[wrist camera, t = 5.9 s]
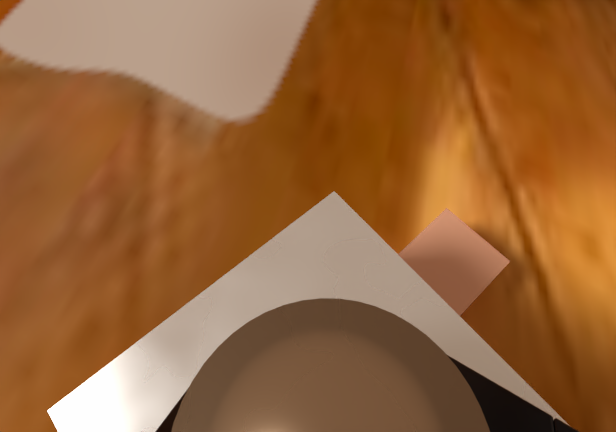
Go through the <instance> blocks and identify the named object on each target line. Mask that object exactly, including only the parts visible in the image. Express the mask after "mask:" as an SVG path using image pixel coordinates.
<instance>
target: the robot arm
mask: <svg viewBox="0 0 616 432" xmlns="http://www.w3.org/2000/svg"><path fill="white" fill-rule="evenodd" d="M446 355H447V354H446ZM447 356H448V355H447ZM448 357H449V358H450V359H451V361H452V362H453V363H454V364H455V365H456V366H457V368H458V369H459V371H460V372H461V374H462V375H463V377H464V378H465V380H466V381H467V383H468V384H469V386H470V388H471V389H472V391H473V393H474V395H475V397H476V399H477V401H478V403H479V405H480V407H481V409H482V412H483V414H484V417H485V419H486V422H487V424H488V427H489V430H490V432H580V431H578V430H576V429H574V428H573V427H571V426H569V425H568V424H566V423H564V422H562V421H561V420H559V419H557V418H555V419H554V420H553V417H552V415H550V414H548V413H547V412H545V411H543V410H541V409H540V408H538V407H536V406H534V405H533V404H531V403H529V402H528V401H526V400H524V399H522V398H521V397H519V396H517V395H516V394H514V393H512V392H510V391H509V390H507V389H505V388H503V387H502V386H500V385H498V384H497V383H495V382H493V381H491V380H490V379H488V378H486V377H485V376H483V375H481V374H479V373H478V372H476V371H474V370H472V369H471V368H469V367H467V366H466V365H464V364H462V363H460V362H459V361H457V360H455V359H454V358H452V357H450V356H448ZM187 390H188V389H187ZM187 390H186V392H187ZM186 392H185V393H184V394H183V396H182V397H181V398H180V400H179V401H178V402H177V403H176V405H175V406H174V407H173V409H172V410H171V411H170V413H169V414H168V415H167V417H166V418H165V419H164V421H163V422H162V423H161V425H160V426H159V427H158V429H157V430H156V431H155V432H171V431H172V427H173V423H174V420H175V418H176V415H177V413H178V410H179V407H180V405H181V402H182V400H183V398H184V396H185V394H186Z"/></svg>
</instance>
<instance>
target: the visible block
mask: <svg viewBox="0 0 616 432" xmlns="http://www.w3.org/2000/svg"><path fill="white" fill-rule="evenodd" d="M398 255H399V256H400V257H401V258H402V259H403V260H404V261H405V262H406V263H407V264H408V265H409V266H410V267H411V268H412V269H413V270H414V271H415V272H416V273H417V274H418V275H419V276H420V277H421V278H422V279H423V280H424V281H425V282H426V283H427V284H428V285H429V286H430V287H431V288H432V289H433V290H434V291H435V292H436V293H437V294H438V295H439V296H440V297H441V298H442V299H443V300H444V301H445V302H446V303H447V304H448V305H449V306H450V307H451V308H452V309H453V310H454V311H455V312H456V313H457V314H458V315H459V316H461V314H462V313H463V312H464V311H465V310H466V309H467V308H468V307H469V306H470V305H471V304H472V302H473V301H474V300H475V299H476V298H477V297H478V296H479V295H480V294H481V293H482V292H483V291H484V289H485V288H486V287H487V286H488V285H489V284H490V283H491V282H492V281H493V280H494V279H495V277H496V276H497V275H498V274H499V273H500V272H501V271H502V270H503V269H504V268H505V267H506V265H507V264H508V263H509V262H510V261H509V260H508V259H507V258H506V257H504V256H503V255H502V254H501V253H500V252H498V251H497V250H496V249H495V248H494V247H492V246H491V245H490V244H489V243H488V242H486V241H485V240H484V239H483V238H482V237H480V236H479V235H478V234H477V233H476V232H474V231H473V230H472V229H471V228H470V227H469V226H467V225H466V224H465V223H464V222H463V221H461V220H460V219H459V218H458V217H457V216H455V215H454V214H453V213H452V212H451V211H449V210H448V209H447V208H446V209H445V210H444V211H443V212H442V213H441V214H440V215H439V216H438V217H437V218H436V219H435V220H434V221H433V222H432V223H431V224H430V225H428V226H427V227H426V228H425V229H424V230H423V231H422V232H421V233H420V234H419V235H418V236H417V237H416V238H415V239H414V240H413V241H412V242H411V243H410V244H409V245H408V246H406V247H405V248H404V249H403V250H402V251H401V252H400V253H399V254H398Z"/></svg>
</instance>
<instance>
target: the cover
mask: <svg viewBox="0 0 616 432" xmlns="http://www.w3.org/2000/svg"><path fill="white" fill-rule="evenodd" d="M446 354H447V355H448V356H450V357H452V358H454V359H455V360H457V361H459V362H460V363H462V364H464V365H466V366H467V367H469V368H471V369H472V370H474V371H476V372H478V373H479V374H481V375H483V376H485V377H486V378H488V379H490V380H491V381H493V382H495V383H497V384H498V385H500V386H502V387H503V388H505V389H507V390H509V391H510V392H512V393H514V394H516V395H517V396H519V397H521V398H522V399H524V400H526V401H528V402H529V403H531V404H533V405H534V406H536V407H538V408H540V409H541V410H543V411H545V412H547V413H548V414H550V415H552V417H553V420H554V419H555V418H557V419H559V420H561V421H562V422H564V423H566V424H568V423H567V422H566V421H565V420H564V419H563V418H562V417H560V416H559V415H558V414H557V413H556V412H555V411H554V410H553V409H552V408H551V407H550V406H549V405H548V404H547V403H546V402H545V401H544V400H543V399H542V398H541V397H540V396H539V395H538V394H537V393H536V392H535V391H534V390H533V389H532V388H531V387H530V386H529V385H528V384H527V383H526V382H525V381H524V380H523V379H522V378H521V377H520V376H519V375H518V374H517V373H516V372H515V371H514V370H513V369H512V368H511V367H510V366H509V365H508V364H507V363H506V362H505V361H504V360H503V359H502V358H501V357H500V356H499V355H498V354H497V353H496V352H495V351H494V350H493V349H492V348H491V347H490V346H489V345H488V344H487V343H486V342H485V341H484V340H483V339H482V338H481V337H480V336H479V335H478V334H477V333H476V332H475V331H474V330H473V329H472V328H471V327H470V326H469V325H468V324H467V323H466V322H465V321H464V320H463V319H462V318H461V317H460V316H459V315H458V314H457V313H456V312H455V311H454V310H453V309H452V308H451V307H450V306H449V305H448V304H447V303H446V302H445V301H444V300H443V299H442V298H441V297H440V296H439V295H438V294H437V293H436V292H435V291H434V290H433V289H432V288H431V287H430V286H429V285H428V284H427V283H426V282H425V281H424V280H423V279H422V278H421V277H420V276H419V275H418V274H417V273H416V272H415V271H414V270H413V269H412V268H411V267H410V266H409V265H408V264H407V263H406V262H405V261H404V260H403V259H402V258H401V257H400V256H399V255H398V254H397V253H396V252H395V251H394V250H393V249H392V248H391V247H390V246H389V245H388V244H387V243H386V242H385V241H384V240H383V239H382V238H381V237H380V236H379V235H378V234H377V233H376V232H375V231H374V230H373V229H372V228H371V227H370V226H369V225H368V224H367V223H366V222H365V221H364V220H363V219H362V218H361V217H360V216H359V215H358V214H357V213H356V212H355V211H354V210H353V209H352V208H351V207H350V206H349V205H348V204H347V203H346V202H345V201H344V200H343V199H342V198H341V197H340V196H339V195H338V194H337V193H336V192H335V191H334V192H332V193H331V194H330V195H329V196H327V197H326V198H325V199H323V200H322V201H321V202H319V203H318V204H317V205H315V206H314V207H313V208H312V209H310V210H309V211H308V212H306V213H305V214H304V215H302V216H301V217H300V218H298V219H297V220H296V221H295V222H293V223H292V224H291V225H289V226H288V227H287V228H285V229H284V230H283V231H281V232H280V233H279V234H278V235H276V236H275V237H274V238H272V239H271V240H270V241H268V242H267V243H266V244H264V245H263V246H262V247H261V248H259V249H258V250H257V251H255V252H254V253H253V254H251V255H250V256H249V257H247V258H246V259H245V260H244V261H242V262H241V263H240V264H238V265H237V266H236V267H234V268H233V269H232V270H230V271H229V272H228V273H227V274H225V275H224V276H223V277H221V278H220V279H219V280H217V281H216V282H215V283H213V284H212V285H211V286H210V287H208V288H207V289H206V290H204V291H203V292H202V293H200V294H199V295H198V296H196V297H195V298H194V299H193V300H191V301H190V302H189V303H187V304H186V305H185V306H183V307H182V308H181V309H179V310H178V311H177V312H176V313H174V314H173V315H172V316H170V317H169V318H168V319H166V320H165V321H164V322H162V323H161V324H160V325H159V326H157V327H156V328H155V329H153V330H152V331H151V332H149V333H148V334H147V335H145V336H144V337H143V338H142V339H140V340H139V341H138V342H136V343H135V344H134V345H132V346H131V347H130V348H128V349H127V350H126V351H125V352H123V353H122V354H121V355H119V356H118V357H117V358H115V359H114V360H113V361H111V362H110V363H109V364H108V365H106V366H105V367H104V368H102V369H101V370H100V371H98V372H97V373H96V374H94V375H93V376H92V377H91V378H89V379H88V380H87V381H85V382H84V383H83V384H81V385H80V386H79V387H77V388H76V389H75V390H74V391H72V392H71V393H70V394H68V395H67V396H66V397H64V398H63V399H62V400H61V401H59V402H58V403H57V404H55V405H54V406H53V407H51V408H50V409H49V410H47V411H48V413H49V415H50V417H51V419H52V421H53V423H54V424H55V426H56V428H57V430H58V432H155V431H156V430H157V429H158V427H159V426H160V425H161V423H162V422H163V421H164V419H165V418H166V417H167V415H168V414H169V413H170V411H171V410H172V409H173V407H174V406H175V405H176V403H177V402H178V401H179V400H180V398H181V397H182V396H183V394H184V393H185V392H186V390H187V389H188V390H187V392H186V394H185V396H184V398H183V400H182V402H181V405H180V407H179V410H178V413H177V415H176V418H175V420H174V423H173V427H172V431H171V432H490V430H489V427H488V424H487V422H486V419H485V417H484V414H483V412H482V409H481V407H480V405H479V403H478V401H477V399H476V397H475V395H474V393H473V391H472V389H471V388H470V386H469V384H468V383H467V381H466V380H465V378H464V377H463V375H462V374H461V372H460V371H459V369H458V368H457V366H456V365H455V364H454V363H453V362H452V361H451V359H450V358H449V357H448V356H447V355H446ZM568 425H569V424H568ZM569 426H570V425H569Z"/></svg>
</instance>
